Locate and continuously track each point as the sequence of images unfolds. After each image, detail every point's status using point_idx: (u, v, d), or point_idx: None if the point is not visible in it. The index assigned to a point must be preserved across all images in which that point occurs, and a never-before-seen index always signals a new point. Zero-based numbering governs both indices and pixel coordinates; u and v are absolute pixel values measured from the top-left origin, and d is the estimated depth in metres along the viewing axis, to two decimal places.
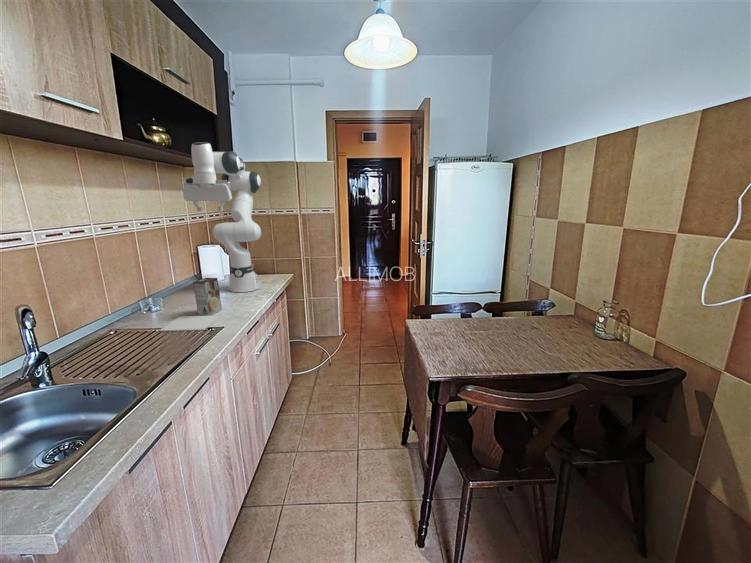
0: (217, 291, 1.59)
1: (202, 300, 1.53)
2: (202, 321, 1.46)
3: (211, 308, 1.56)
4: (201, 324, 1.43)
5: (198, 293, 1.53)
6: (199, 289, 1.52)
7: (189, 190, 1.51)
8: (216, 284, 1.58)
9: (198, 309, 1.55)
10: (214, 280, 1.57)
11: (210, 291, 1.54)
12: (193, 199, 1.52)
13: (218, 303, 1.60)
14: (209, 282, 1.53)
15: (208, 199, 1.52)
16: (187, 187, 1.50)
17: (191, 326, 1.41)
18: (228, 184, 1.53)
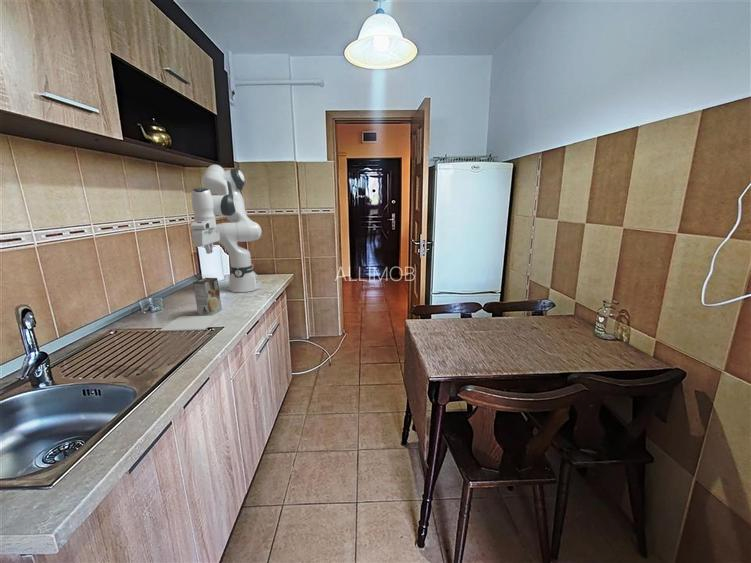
0: (217, 291, 1.59)
1: (202, 300, 1.53)
2: (202, 321, 1.46)
3: (211, 308, 1.56)
4: (201, 324, 1.43)
5: (198, 293, 1.53)
6: (199, 289, 1.52)
7: (203, 235, 1.51)
8: (216, 284, 1.58)
9: (198, 309, 1.55)
10: (214, 280, 1.57)
11: (210, 291, 1.54)
12: (206, 243, 1.53)
13: (218, 303, 1.60)
14: (209, 282, 1.53)
15: (212, 241, 1.59)
16: (204, 232, 1.50)
17: (191, 326, 1.41)
18: None
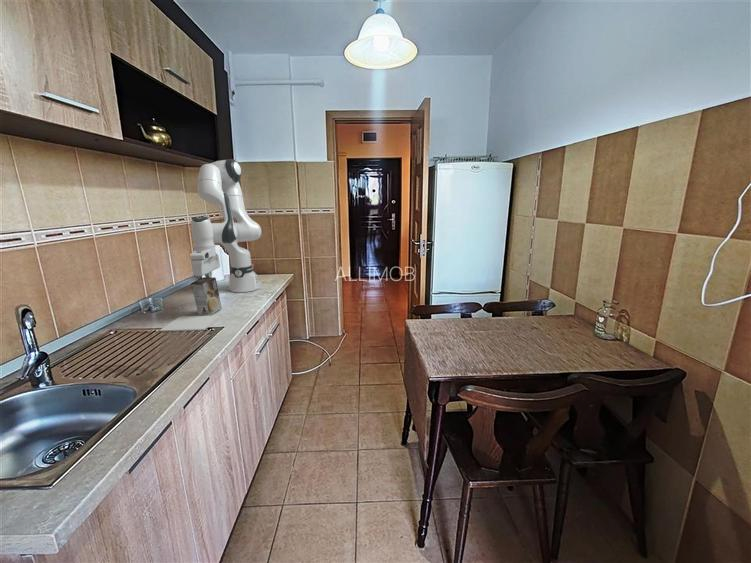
0: (216, 291, 1.58)
1: (201, 300, 1.53)
2: (202, 321, 1.46)
3: (211, 308, 1.55)
4: (201, 324, 1.43)
5: (197, 294, 1.52)
6: (198, 290, 1.51)
7: (202, 264, 1.51)
8: (215, 284, 1.57)
9: (198, 309, 1.55)
10: (212, 280, 1.56)
11: (209, 291, 1.54)
12: (205, 272, 1.53)
13: (217, 302, 1.59)
14: (207, 282, 1.52)
15: (212, 270, 1.59)
16: (203, 262, 1.50)
17: (191, 326, 1.41)
18: None
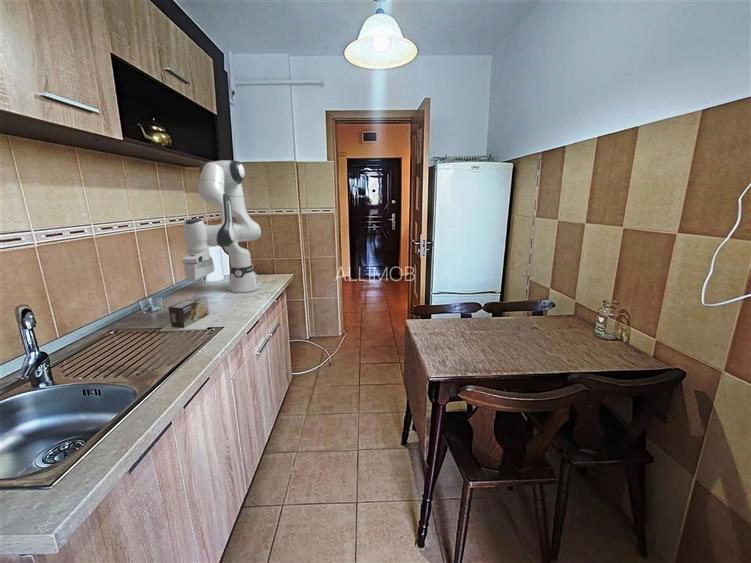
0: (192, 305, 1.44)
1: None
2: (202, 321, 1.46)
3: (204, 312, 1.51)
4: (201, 324, 1.43)
5: None
6: None
7: (196, 268, 1.44)
8: (186, 308, 1.40)
9: None
10: (183, 312, 1.38)
11: (191, 317, 1.43)
12: (199, 277, 1.46)
13: (201, 303, 1.49)
14: (184, 320, 1.39)
15: (206, 274, 1.52)
16: (197, 266, 1.43)
17: (191, 326, 1.41)
18: None
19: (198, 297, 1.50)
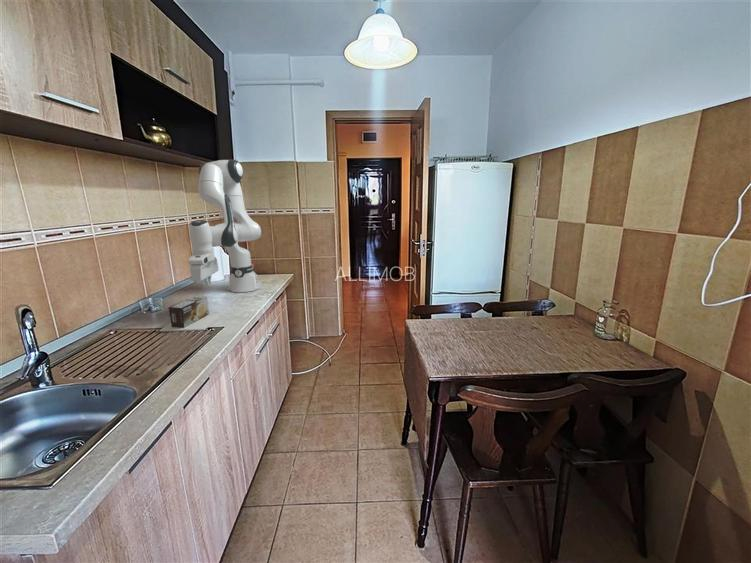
0: (192, 305, 1.44)
1: None
2: (202, 321, 1.46)
3: (204, 312, 1.51)
4: (201, 324, 1.43)
5: None
6: None
7: (201, 269, 1.48)
8: (186, 308, 1.40)
9: None
10: (183, 312, 1.38)
11: (191, 317, 1.43)
12: (204, 277, 1.50)
13: (202, 303, 1.49)
14: (184, 320, 1.39)
15: (210, 274, 1.57)
16: (202, 267, 1.48)
17: (191, 326, 1.41)
18: None
19: (198, 297, 1.50)
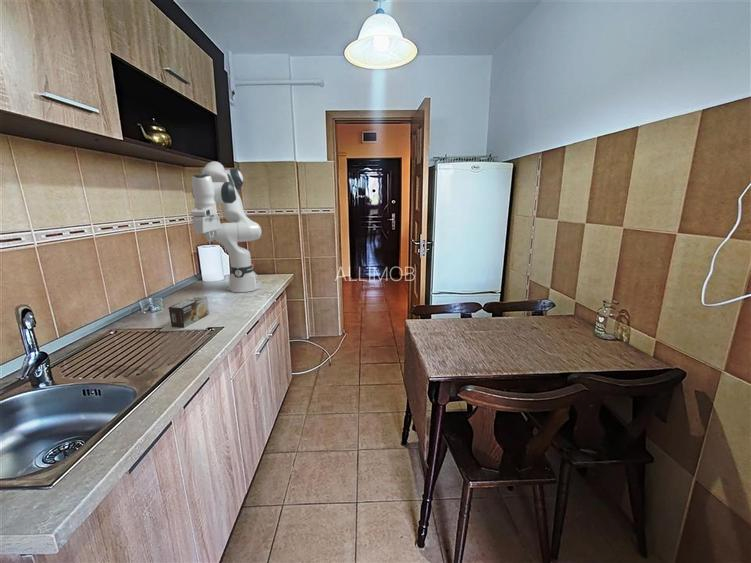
0: (192, 305, 1.44)
1: None
2: (202, 321, 1.46)
3: (204, 312, 1.51)
4: (201, 324, 1.43)
5: None
6: None
7: (204, 221, 1.48)
8: (186, 308, 1.40)
9: None
10: (183, 312, 1.38)
11: (191, 317, 1.43)
12: (207, 230, 1.50)
13: (202, 303, 1.49)
14: (184, 320, 1.39)
15: (213, 229, 1.56)
16: (204, 219, 1.47)
17: (191, 326, 1.41)
18: None
19: (198, 297, 1.50)
